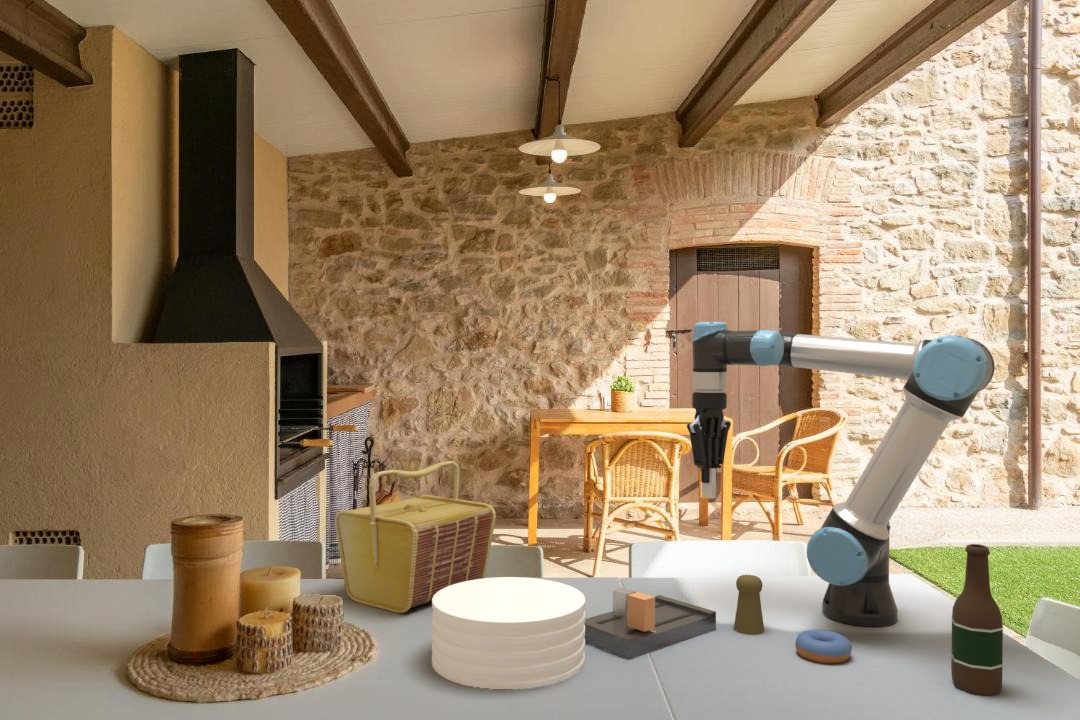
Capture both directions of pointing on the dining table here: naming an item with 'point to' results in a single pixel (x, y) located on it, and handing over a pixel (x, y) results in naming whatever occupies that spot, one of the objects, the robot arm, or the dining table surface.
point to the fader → (641, 611)
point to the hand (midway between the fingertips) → (708, 497)
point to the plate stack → (508, 632)
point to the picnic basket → (412, 545)
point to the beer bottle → (977, 630)
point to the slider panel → (670, 628)
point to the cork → (749, 606)
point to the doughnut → (823, 646)
